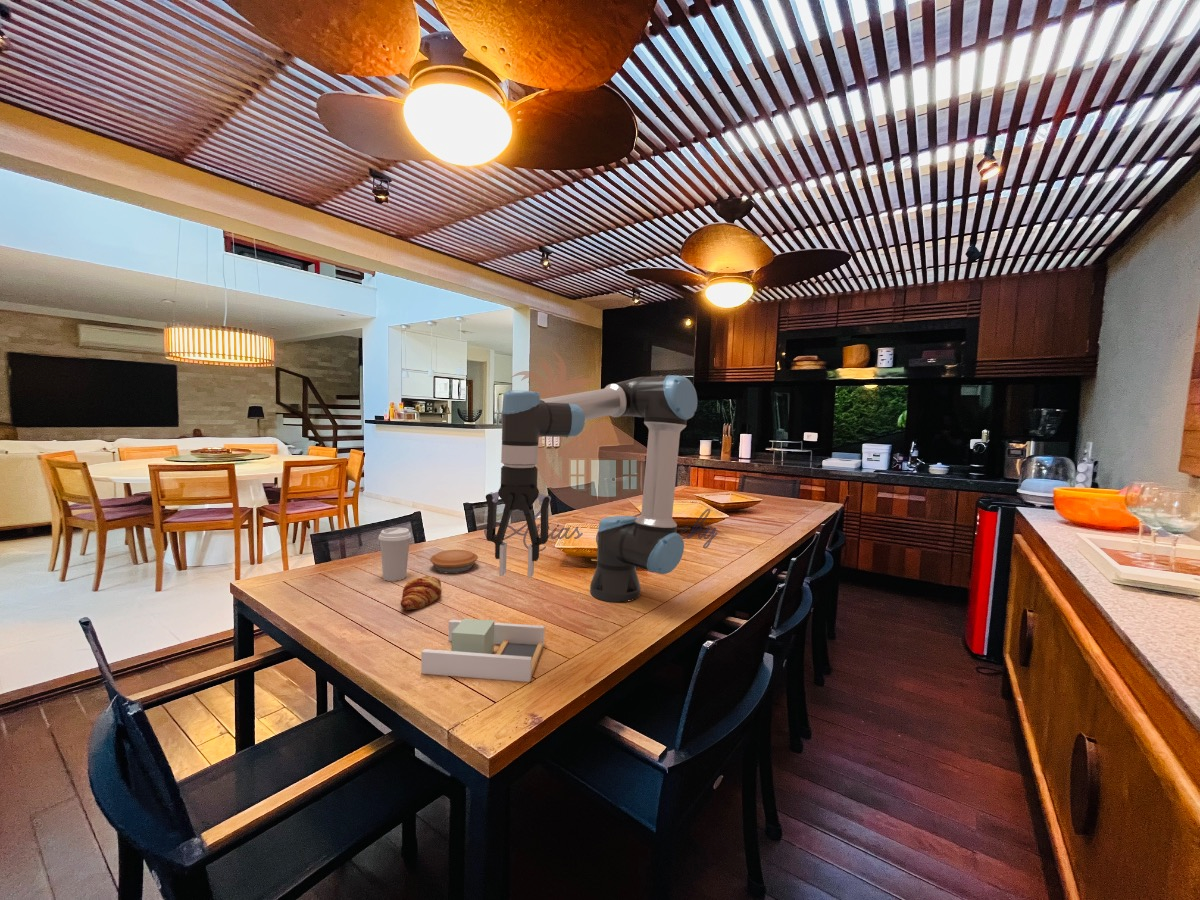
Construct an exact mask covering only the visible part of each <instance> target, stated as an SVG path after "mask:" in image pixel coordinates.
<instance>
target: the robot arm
mask: <svg viewBox="0 0 1200 900" xmlns="http://www.w3.org/2000/svg"><path fill="white" fill-rule="evenodd" d="M501 407H502V409H501V412H500V421H501V455H500V456H501V457H500V458H501V459H500V462H501V463H502V467H500V485H499V489H498V490H497V491H494V492H488V493H487V494H486V495H485V500H486V504H487V516H486V519H487V520H486V534H485V535H486V537H485V538H486V540H487V542H492V543H494V558H495V559H496V560H499V563H498V564H499V566H498V570H499V571H498V576H499V577H503V576H504V575H505V574H506V573H507V552H508V551H507V550H508V548H507V547H508V542H507V541H504V540H505V536H506V534H507V533H506V532H507V529H508V527H509V526H508V525H509V522H510V519H511V516H512V513H513V511H516V510H518V511H522V512H523V515H524V517H525V523H526V525H527V529H528V533H529V538H530V542H531V543H530V544H529V546H528V547H527V548H528V549H527V578H529V579H530V578H532V577H533V576H534V573H535V572H534V571H535V570H534V569H535V562H538V560H539V558H540V546H541V545H545V544H546V543H547V542H548V540H549V506H550V503H551V501H552V496H551V495H549V494H548V495H545V494H543V493H541V492H540V490H539V488H538V470H539V469H538V467H537V466H536V465H537V464H538V463H539V438H540V437H541V438H542V437H546V438H548V437H550V438H551V437H553V438H554V437H555V438H556V437H557V438H559V437H560V438H561V437H562V438H570V437H576V436H579V435H580V434H581V433H582V431H583V430H584V427H585V424H586V423H585V422H586V421H589V420H593V419H598V418H602V417H607V416H610V417H612V418H619V417H636V418H644V421H643V424H644V426H646V427H647V429H648V434H647V435H648V436H647V438H648V439H647V447H646V448H647V450H646V458H645V459H646V460H645V471H644V472H645V473H644V480H643V481H644V482H643V493H642V501H641V503H642V505H641V513H640V515H639V516H638V517H636V516H632V515H616V516H615V515H614V516H608V517H603V518H602V519H601V520H599V522H598V530H597V545H596V546H597V550H596V551H597V554H596V555H597V557H596V567H595V570H594V574H593V577H592V579H591V581H590V585H589V586H590V587H589V593H590V595H591V596H592V597H593V598H596V599H598V600H601V601H605V602H609V603H621V602H620V601H627V602H629V601H628V600H632V599H635V598H637V597H638V596H639V595H640V596H641V591H642V590H641V583H640V580H639V577H638V572H637V569H636V567H638V568H641V569H643V570H646V571H648V572H649V573H656V574H660V575H666V574H669V573H671V572H672V571H674V570H675V568H677V566H678V565H679V563H680V562H681V561H682V558H683V554H684V550H685V543H684V542H685V541H684V540H683V537H682V535H680V534H679V533H677V529H678V524H677V522H676V521H675V520H674V519H673V512H674V501H675V493H676V491H675V490H676V479H677V468H678V460H679V459H678V457H679V447H680V438H681V432H682V431H683V430H684V429H685V428H686V427H687V421H688V420H689V419H692V418H693V417H694V416H695V414H696V411H697V408H698V395H697V391H696V388H695V386H694V385H693V383H692V382H691V380H690V379H688V378H687V377H685V376H681V375H671V374H669V375H659V376H658V375H657V376H656V375H655V376H639V377H635V378H630V379H627V380H623V381H619V382H616V383H615V382H614V383H609V384H607V385H606V386H605V387H604V388H600V389H595V390H589V391H583V392H577V393H572V394H571V393H570V394H564V395H559V396H553V397H547V398H541V396H540V393H539V392H538V391H533V390H518V389H517V390H506V391H505V393H504V394H503V398H502V406H501ZM499 498H500V499H501V501H502V502H503V504H504V508H503V512H502V516H501V519H500V523H499V526H498V529H496V525H497V509H498V506H497V505H498V504H497V503H498V502H499ZM536 500H538V503H539V505H540V535H539V531H538V527H537V523H536V518H535V514H534V509H533V504H534V503H535V501H536ZM496 530H497V533H496ZM640 596H639V597H640ZM639 597H638V598H639ZM638 598H637V599H638ZM635 600H636V599H635ZM632 601H633V600H632Z"/></svg>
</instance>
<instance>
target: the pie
mask: <svg viewBox="0 0 1200 900" xmlns="http://www.w3.org/2000/svg"><path fill="white" fill-rule="evenodd" d="M478 558H479V556H478V555H477V554H476V553H474V552H472V551H469V550H466V549H448V550H443V551H439V552H438V553H436V554H433V555H432V556H431V557H430V558H429V562H431V564H432V565H433V566H434V567H435V569H436V570H437V571H438V572H440V571H441V572H440V573H443V572H447V573H446V574H457V573H456V572H460V573H463V572H462V571H464V572H467V571H469V570H471V568H472V567H473V565H474V564H475V563H476V562H477V560H478ZM468 569H469V570H468ZM466 570H467V571H466Z"/></svg>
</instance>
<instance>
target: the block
mask: <svg viewBox="0 0 1200 900" xmlns="http://www.w3.org/2000/svg"><path fill="white" fill-rule="evenodd" d="M494 623H496V621H495V620H494V619H493V620H490V619H478V618H477V619H476V618H474V619H473V618H462V621H461V622H460V623H459V624H458V626H457V627H456V628H455V629H454V630H453V632H452V640H451V641H450V643H451V644H450V645H451V646H450V647H451V650H450V651H458V652H471V653H485V654H494V651H495V650H494V649H495V644H494Z"/></svg>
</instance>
